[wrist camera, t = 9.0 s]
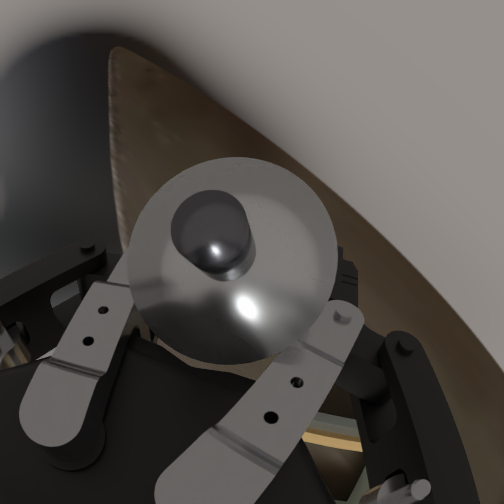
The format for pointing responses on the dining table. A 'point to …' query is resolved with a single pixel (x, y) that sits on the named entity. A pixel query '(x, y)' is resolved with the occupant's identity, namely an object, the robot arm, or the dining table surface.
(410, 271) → the dining table surface
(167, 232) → the grey tall cylinder
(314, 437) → the bottle holder tray
